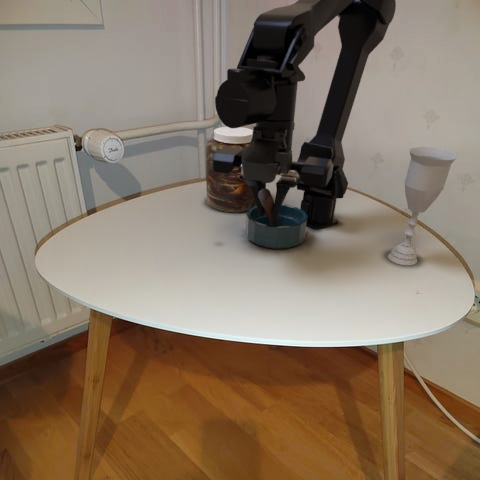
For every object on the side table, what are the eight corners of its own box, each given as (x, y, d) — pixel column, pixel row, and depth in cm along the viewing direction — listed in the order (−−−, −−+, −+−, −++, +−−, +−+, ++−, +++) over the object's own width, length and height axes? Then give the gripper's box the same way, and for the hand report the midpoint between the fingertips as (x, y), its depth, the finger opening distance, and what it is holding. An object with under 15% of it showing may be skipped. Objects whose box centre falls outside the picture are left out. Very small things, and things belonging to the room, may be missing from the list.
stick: (277, 217, 79) (265, 185, 66) (283, 224, 78) (273, 194, 66) (269, 224, 79) (255, 193, 67) (275, 231, 79) (262, 202, 66)
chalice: (376, 249, 77) (402, 146, 66) (412, 248, 78) (442, 147, 67) (391, 268, 71) (421, 160, 61) (429, 268, 72) (466, 160, 61)
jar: (263, 196, 97) (267, 127, 88) (253, 215, 88) (256, 140, 79) (214, 191, 99) (214, 122, 90) (199, 209, 90) (197, 135, 81)
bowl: (281, 221, 86) (283, 199, 84) (316, 242, 79) (320, 219, 76) (235, 232, 81) (235, 210, 79) (267, 256, 74) (269, 232, 71)
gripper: (195, 121, 59) (198, 225, 68) (327, 136, 54) (311, 246, 63) (224, 108, 67) (224, 202, 76) (341, 119, 62) (325, 218, 72)
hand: (268, 216), depth 72 cm, fingers closed on stick, 2 cm apart
